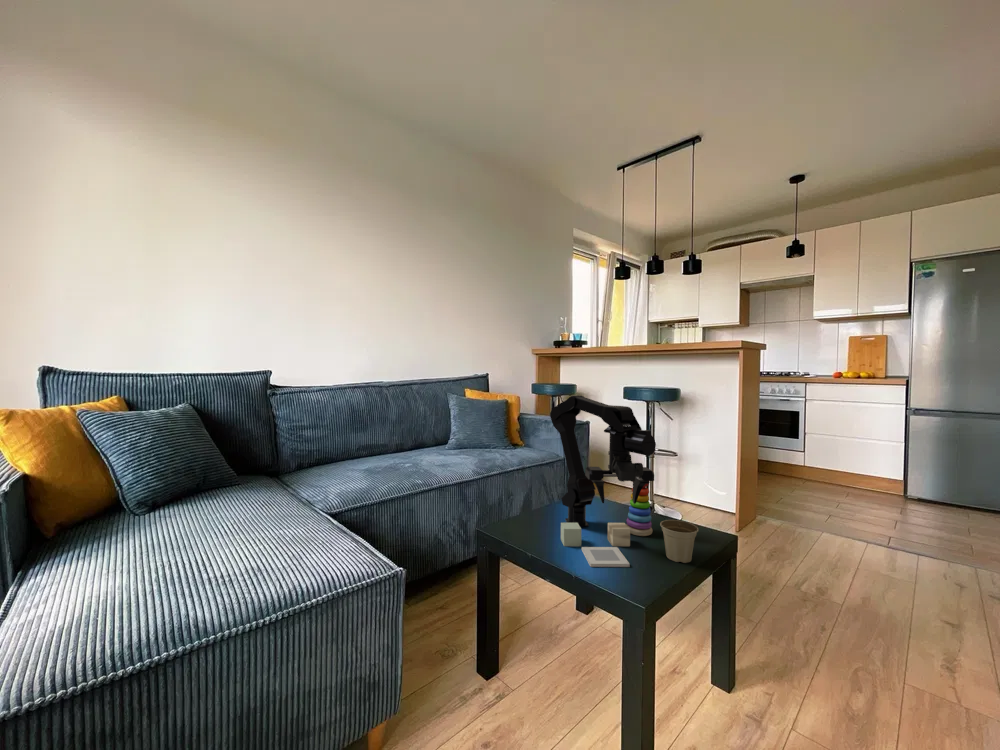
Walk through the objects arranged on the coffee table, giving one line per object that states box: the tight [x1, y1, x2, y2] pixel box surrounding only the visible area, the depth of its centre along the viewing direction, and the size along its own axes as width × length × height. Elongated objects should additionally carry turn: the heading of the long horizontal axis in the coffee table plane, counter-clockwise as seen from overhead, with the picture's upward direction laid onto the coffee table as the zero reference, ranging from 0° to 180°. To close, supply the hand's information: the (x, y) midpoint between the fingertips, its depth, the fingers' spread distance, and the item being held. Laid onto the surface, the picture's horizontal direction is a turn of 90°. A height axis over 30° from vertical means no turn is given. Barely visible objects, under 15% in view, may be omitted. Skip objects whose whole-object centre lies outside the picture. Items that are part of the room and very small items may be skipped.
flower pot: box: [659, 519, 699, 564], centre depth 109 cm, size 9×9×9 cm
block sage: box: [560, 522, 582, 547], centre depth 118 cm, size 5×5×5 cm
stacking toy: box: [625, 484, 654, 537], centre depth 127 cm, size 8×8×19 cm
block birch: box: [607, 522, 631, 547], centre depth 118 cm, size 5×5×5 cm
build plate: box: [581, 546, 631, 568], centre depth 108 cm, size 10×10×1 cm
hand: (618, 503), depth 118 cm, fingers open, 9 cm apart
